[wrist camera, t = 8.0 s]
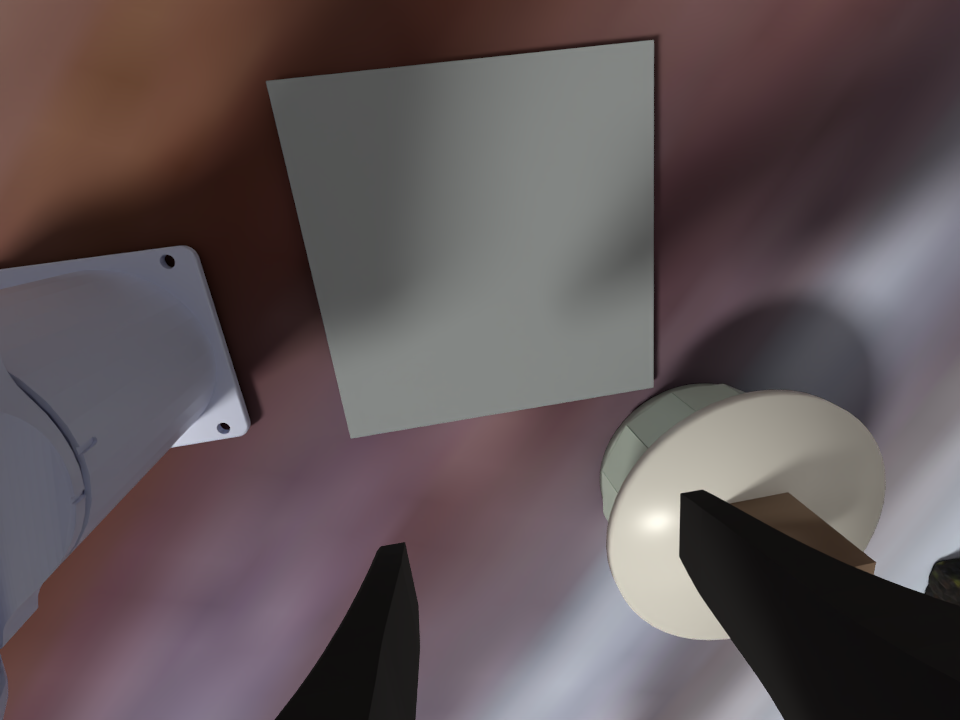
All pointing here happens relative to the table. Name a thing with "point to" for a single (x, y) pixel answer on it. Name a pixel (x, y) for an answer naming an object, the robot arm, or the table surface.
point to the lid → (744, 494)
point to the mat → (478, 229)
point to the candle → (945, 581)
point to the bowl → (651, 431)
